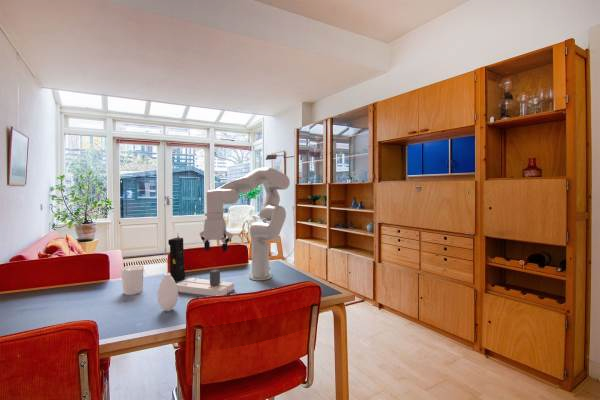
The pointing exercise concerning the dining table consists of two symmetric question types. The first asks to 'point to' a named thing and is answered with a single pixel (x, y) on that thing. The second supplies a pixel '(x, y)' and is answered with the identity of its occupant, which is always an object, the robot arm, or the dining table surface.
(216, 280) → the fader tab
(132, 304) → the dining table surface
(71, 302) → the dining table surface
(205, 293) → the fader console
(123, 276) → the candle holder
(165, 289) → the sauce bottle
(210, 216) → the robot arm
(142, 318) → the dining table surface
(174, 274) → the portable radio
